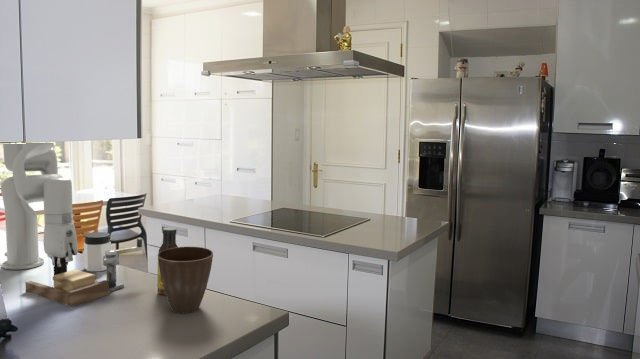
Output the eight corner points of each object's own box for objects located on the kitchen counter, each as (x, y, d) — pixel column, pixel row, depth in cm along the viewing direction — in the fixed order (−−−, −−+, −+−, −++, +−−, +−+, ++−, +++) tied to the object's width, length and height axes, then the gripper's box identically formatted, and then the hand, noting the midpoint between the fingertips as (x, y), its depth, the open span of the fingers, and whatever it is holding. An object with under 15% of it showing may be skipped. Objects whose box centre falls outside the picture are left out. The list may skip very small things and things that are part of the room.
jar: (114, 269, 172) (113, 235, 171) (89, 273, 167) (88, 238, 165) (106, 263, 179) (105, 230, 177) (82, 266, 174) (81, 233, 172)
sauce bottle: (159, 296, 147) (158, 231, 145) (155, 290, 152) (154, 227, 150) (181, 293, 150) (181, 230, 148) (177, 287, 155) (176, 225, 153)
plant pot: (224, 307, 140) (224, 252, 139) (182, 323, 128) (182, 264, 126) (188, 295, 149) (188, 243, 147) (146, 310, 136) (146, 254, 135)
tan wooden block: (53, 295, 145) (52, 275, 144) (76, 288, 152) (75, 269, 151) (73, 301, 141) (72, 281, 140) (95, 294, 147) (95, 274, 147)
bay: (25, 291, 148) (25, 278, 147) (63, 280, 158) (63, 268, 158) (71, 306, 137) (70, 292, 137) (108, 293, 148) (108, 281, 148)
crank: (139, 249, 160) (139, 237, 160) (144, 250, 158) (144, 239, 158) (103, 255, 152) (103, 243, 151) (108, 257, 150) (107, 245, 149)
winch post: (99, 288, 152) (98, 257, 151) (113, 284, 157) (112, 253, 155) (110, 291, 150) (109, 259, 149) (123, 287, 154) (123, 255, 153)
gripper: (86, 219, 146) (87, 279, 148) (55, 213, 154) (57, 271, 156) (62, 223, 140) (64, 286, 142) (31, 217, 147) (33, 277, 149)
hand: (60, 278), depth 149 cm, fingers closed
